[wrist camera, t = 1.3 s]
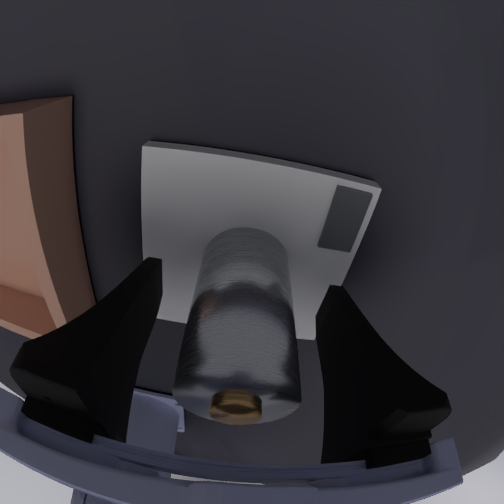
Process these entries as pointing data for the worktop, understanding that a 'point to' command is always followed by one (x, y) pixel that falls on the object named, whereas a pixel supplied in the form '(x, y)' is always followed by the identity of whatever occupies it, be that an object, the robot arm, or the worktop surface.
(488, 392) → the worktop surface
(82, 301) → the bin
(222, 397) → the cell
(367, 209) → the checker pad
